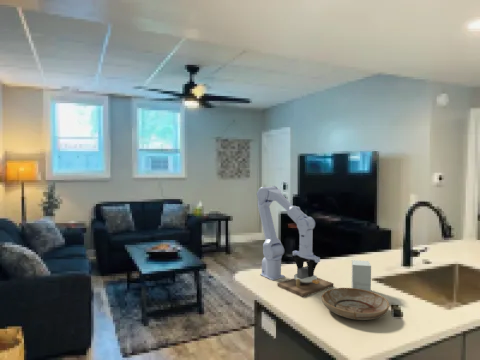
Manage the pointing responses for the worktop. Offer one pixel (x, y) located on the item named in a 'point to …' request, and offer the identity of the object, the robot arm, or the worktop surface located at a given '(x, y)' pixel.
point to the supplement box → (361, 275)
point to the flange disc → (305, 276)
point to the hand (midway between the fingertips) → (305, 274)
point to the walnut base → (304, 286)
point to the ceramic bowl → (355, 303)
